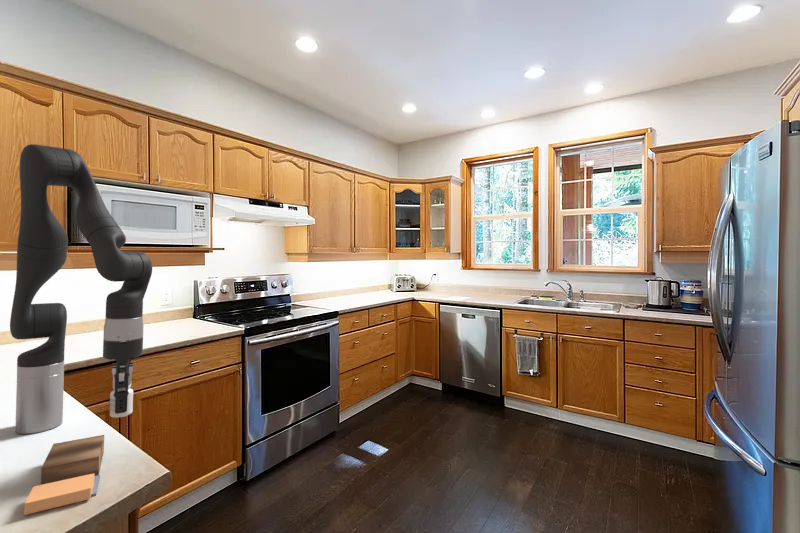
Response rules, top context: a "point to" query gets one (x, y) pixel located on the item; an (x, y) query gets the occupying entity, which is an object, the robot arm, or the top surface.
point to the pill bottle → (129, 403)
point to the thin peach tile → (59, 493)
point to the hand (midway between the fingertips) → (121, 408)
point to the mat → (95, 485)
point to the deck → (73, 459)
